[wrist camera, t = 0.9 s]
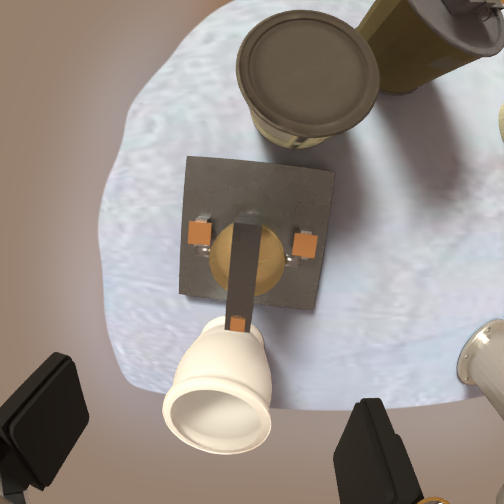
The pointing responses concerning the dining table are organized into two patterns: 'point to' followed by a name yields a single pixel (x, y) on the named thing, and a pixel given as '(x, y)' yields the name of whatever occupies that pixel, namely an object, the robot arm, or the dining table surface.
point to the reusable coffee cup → (501, 121)
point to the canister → (429, 38)
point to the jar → (221, 392)
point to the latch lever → (246, 265)
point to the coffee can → (306, 77)
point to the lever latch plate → (275, 215)
